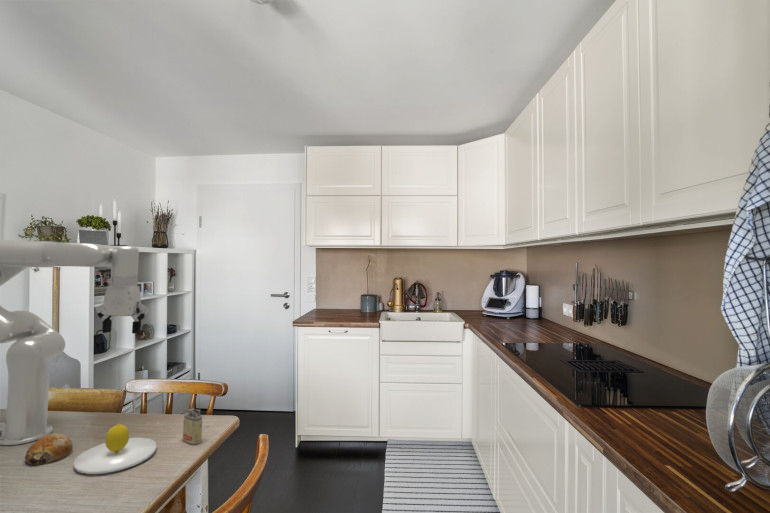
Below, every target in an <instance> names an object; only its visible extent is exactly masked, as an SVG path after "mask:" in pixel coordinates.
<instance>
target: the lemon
mask: <svg viewBox="0 0 770 513" xmlns="http://www.w3.org/2000/svg"><path fill="white" fill-rule="evenodd" d="M129 438H130V430H129V429H128V427H127V426H126V425H124V424H121V423H117V424H115V425H114V426H112V427H111V428H110V429H109V430H108V431H107V433H106V436H105V442H104V443H106V447H107V448H108V449H109V450H110V451H114V452H115V453H117V452H119V450H121V449H123V448H124V447H125V446H126V445H127V443H128V440H129Z"/></svg>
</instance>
